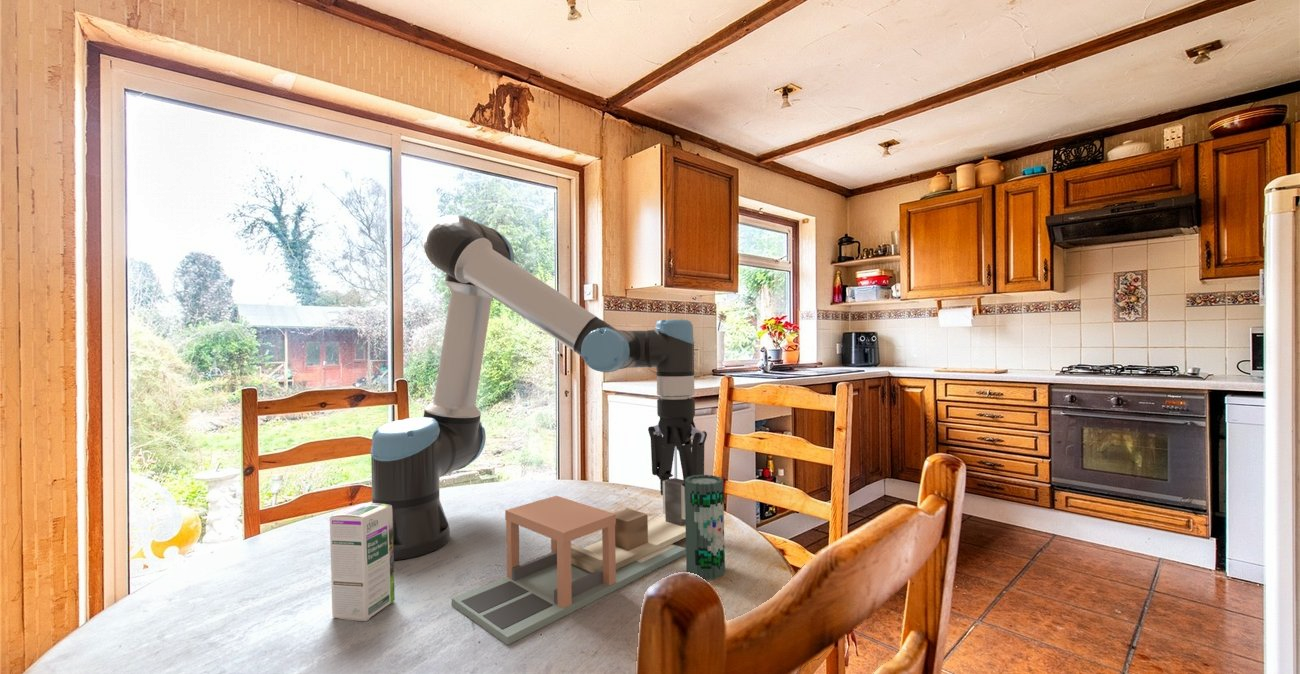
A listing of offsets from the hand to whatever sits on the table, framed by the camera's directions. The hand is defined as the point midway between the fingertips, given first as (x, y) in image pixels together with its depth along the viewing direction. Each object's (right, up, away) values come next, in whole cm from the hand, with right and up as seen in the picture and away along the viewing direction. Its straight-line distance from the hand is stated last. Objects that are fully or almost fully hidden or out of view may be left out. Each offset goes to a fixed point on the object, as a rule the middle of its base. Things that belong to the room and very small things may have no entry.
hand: (678, 514), depth 100 cm
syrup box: (-47, -4, -27) cm, 55 cm away
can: (+4, -4, -17) cm, 18 cm away
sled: (-8, -2, -9) cm, 12 cm away
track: (-17, -4, -18) cm, 25 cm away
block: (-9, -1, -10) cm, 14 cm away
